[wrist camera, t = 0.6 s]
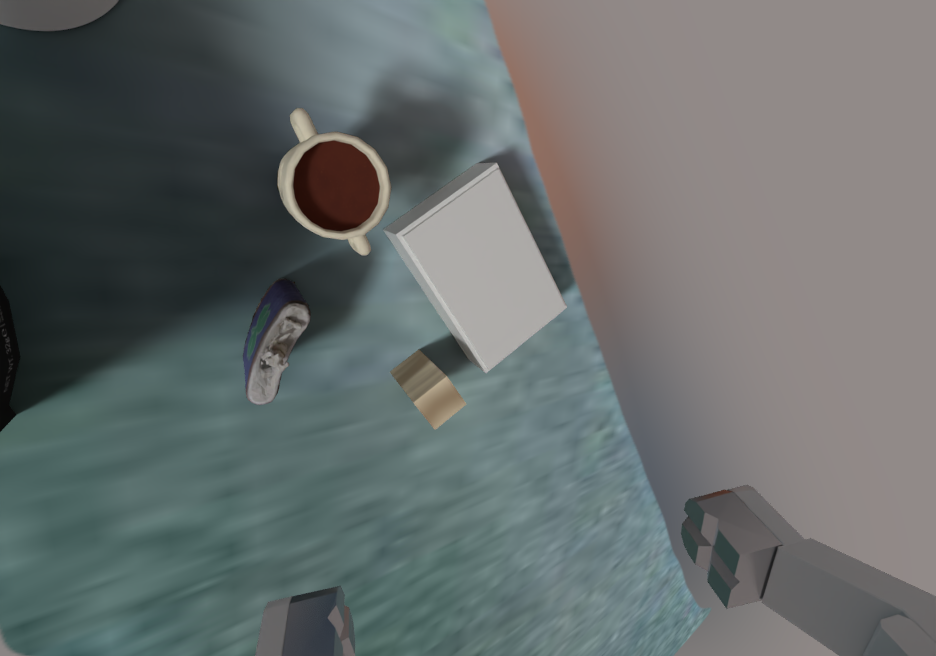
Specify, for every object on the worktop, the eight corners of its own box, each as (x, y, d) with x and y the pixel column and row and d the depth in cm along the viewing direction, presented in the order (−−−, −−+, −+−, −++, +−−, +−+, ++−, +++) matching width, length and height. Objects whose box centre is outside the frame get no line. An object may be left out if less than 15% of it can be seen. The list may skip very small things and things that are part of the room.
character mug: (242, 137, 40) (245, 124, 29) (320, 107, 42) (352, 83, 31) (306, 254, 45) (329, 282, 34) (373, 222, 47) (417, 239, 35)
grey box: (382, 229, 47) (397, 235, 43) (476, 163, 49) (499, 162, 45) (468, 359, 56) (488, 375, 51) (545, 298, 58) (570, 308, 54)
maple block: (389, 371, 52) (413, 402, 45) (419, 349, 53) (446, 376, 46) (409, 396, 54) (434, 430, 47) (437, 374, 55) (466, 404, 48)
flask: (265, 370, 46) (272, 419, 37) (233, 361, 45) (233, 410, 36) (302, 283, 46) (320, 312, 36) (271, 271, 44) (281, 297, 35)
